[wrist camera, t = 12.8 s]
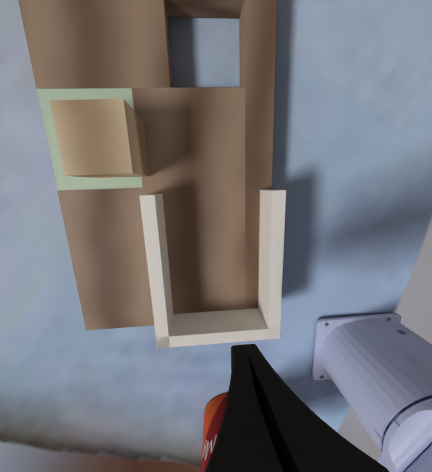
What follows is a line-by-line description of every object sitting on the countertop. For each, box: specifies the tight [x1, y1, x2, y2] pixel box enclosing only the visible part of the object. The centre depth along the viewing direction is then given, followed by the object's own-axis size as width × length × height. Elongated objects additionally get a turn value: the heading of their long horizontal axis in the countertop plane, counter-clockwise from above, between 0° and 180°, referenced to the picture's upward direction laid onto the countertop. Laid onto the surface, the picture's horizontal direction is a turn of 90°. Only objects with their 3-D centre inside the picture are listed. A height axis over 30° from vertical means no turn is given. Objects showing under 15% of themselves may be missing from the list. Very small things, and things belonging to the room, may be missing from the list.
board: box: [18, 0, 277, 330], centre depth 18 cm, size 17×26×2 cm, turn 2°
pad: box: [37, 88, 143, 191], centre depth 17 cm, size 6×7×2 cm
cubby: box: [139, 189, 286, 348], centre depth 17 cm, size 10×12×3 cm
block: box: [49, 99, 149, 178], centre depth 14 cm, size 4×4×4 cm
